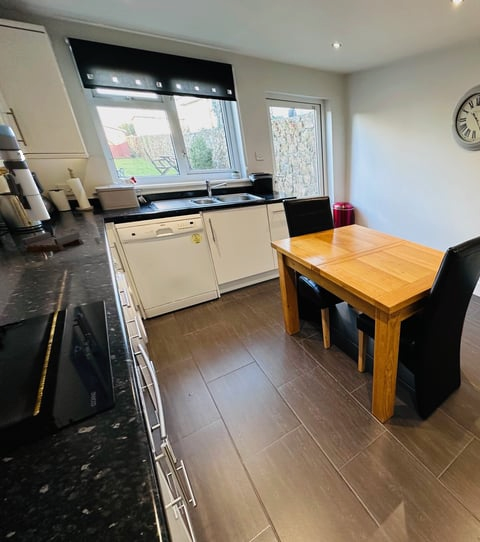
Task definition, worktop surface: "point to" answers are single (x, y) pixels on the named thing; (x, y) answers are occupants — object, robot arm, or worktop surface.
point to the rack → (51, 242)
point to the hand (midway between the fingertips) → (35, 207)
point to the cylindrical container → (31, 195)
